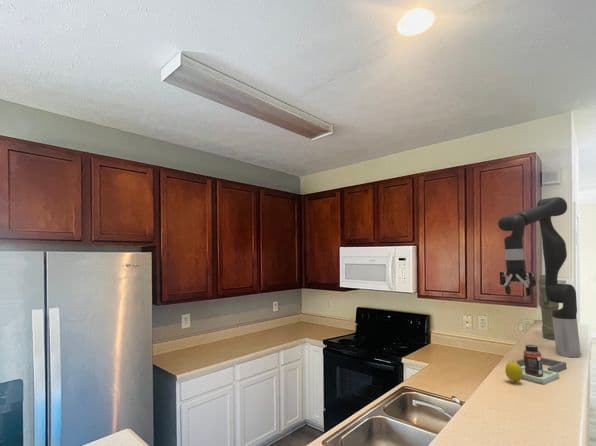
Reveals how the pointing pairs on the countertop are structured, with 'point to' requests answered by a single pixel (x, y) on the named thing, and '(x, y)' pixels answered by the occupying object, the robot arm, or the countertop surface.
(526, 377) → the tray
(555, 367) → the holder
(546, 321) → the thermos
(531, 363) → the supplement bottle
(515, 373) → the lemon
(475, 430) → the countertop surface
